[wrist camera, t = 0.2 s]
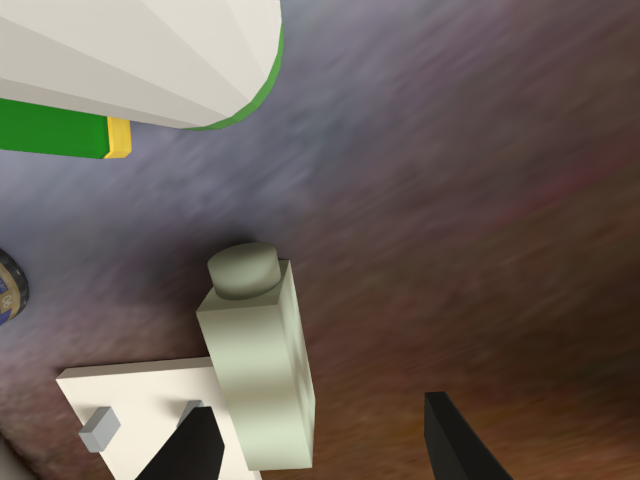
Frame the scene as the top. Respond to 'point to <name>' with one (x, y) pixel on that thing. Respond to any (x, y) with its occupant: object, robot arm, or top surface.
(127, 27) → the wine bottle
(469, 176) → the top surface
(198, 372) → the cradle jig
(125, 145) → the dish sponge
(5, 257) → the pill bottle
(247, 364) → the tall single-stud brick
